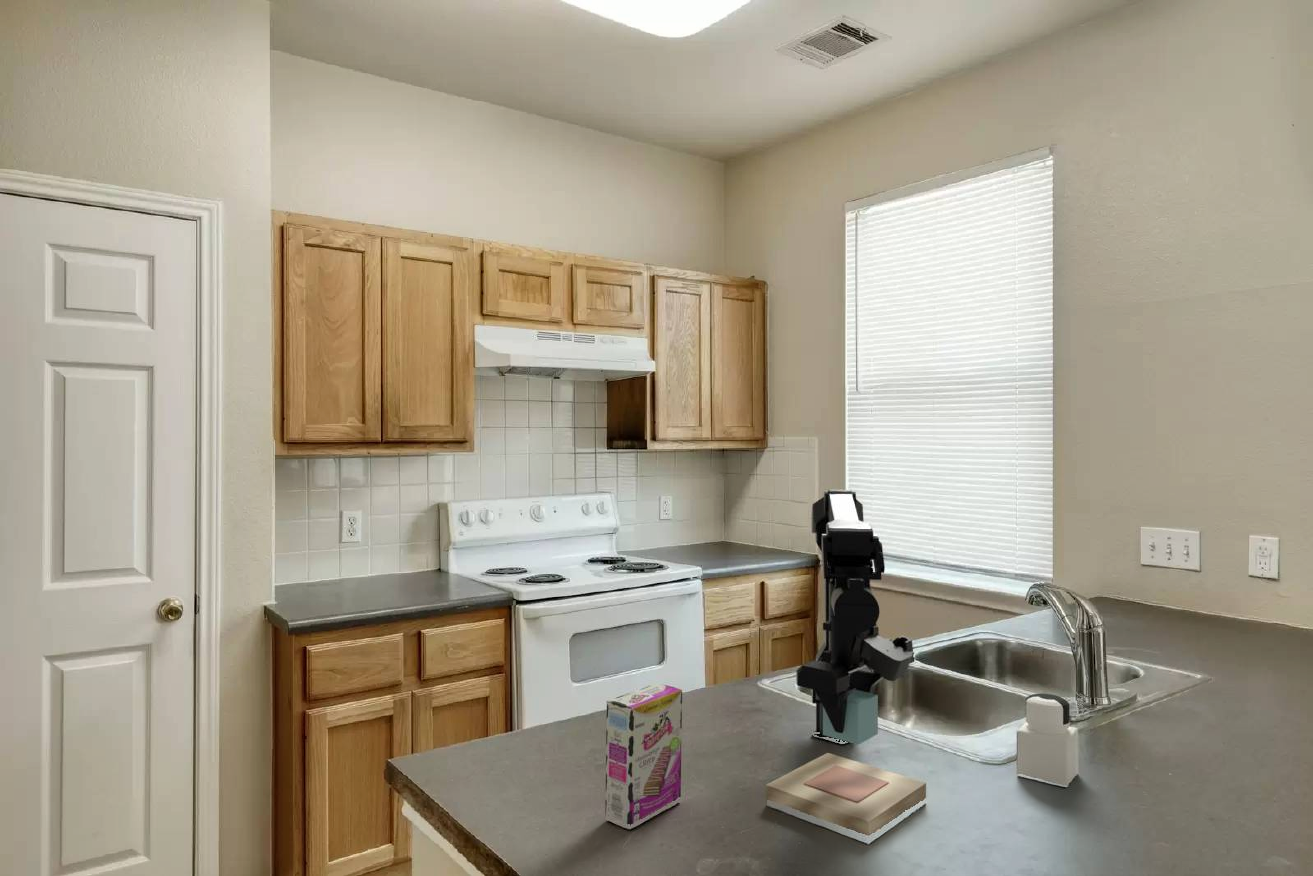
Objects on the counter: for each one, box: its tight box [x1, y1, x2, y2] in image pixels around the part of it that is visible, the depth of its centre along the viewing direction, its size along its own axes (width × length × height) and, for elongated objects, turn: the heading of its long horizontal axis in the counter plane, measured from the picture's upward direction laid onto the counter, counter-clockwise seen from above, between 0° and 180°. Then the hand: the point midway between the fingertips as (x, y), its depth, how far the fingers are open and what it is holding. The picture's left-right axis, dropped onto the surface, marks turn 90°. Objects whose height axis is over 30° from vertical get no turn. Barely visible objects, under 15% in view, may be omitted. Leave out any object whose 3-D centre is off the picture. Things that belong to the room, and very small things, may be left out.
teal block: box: [823, 690, 879, 746], centre depth 115 cm, size 6×6×6 cm
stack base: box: [765, 752, 927, 836], centre depth 115 cm, size 16×16×3 cm
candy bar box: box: [604, 682, 683, 825], centre depth 113 cm, size 11×5×16 cm, turn 141°
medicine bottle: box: [1016, 692, 1079, 786], centre depth 125 cm, size 7×7×12 cm
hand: (849, 726), depth 115 cm, fingers closed on teal block, 5 cm apart
